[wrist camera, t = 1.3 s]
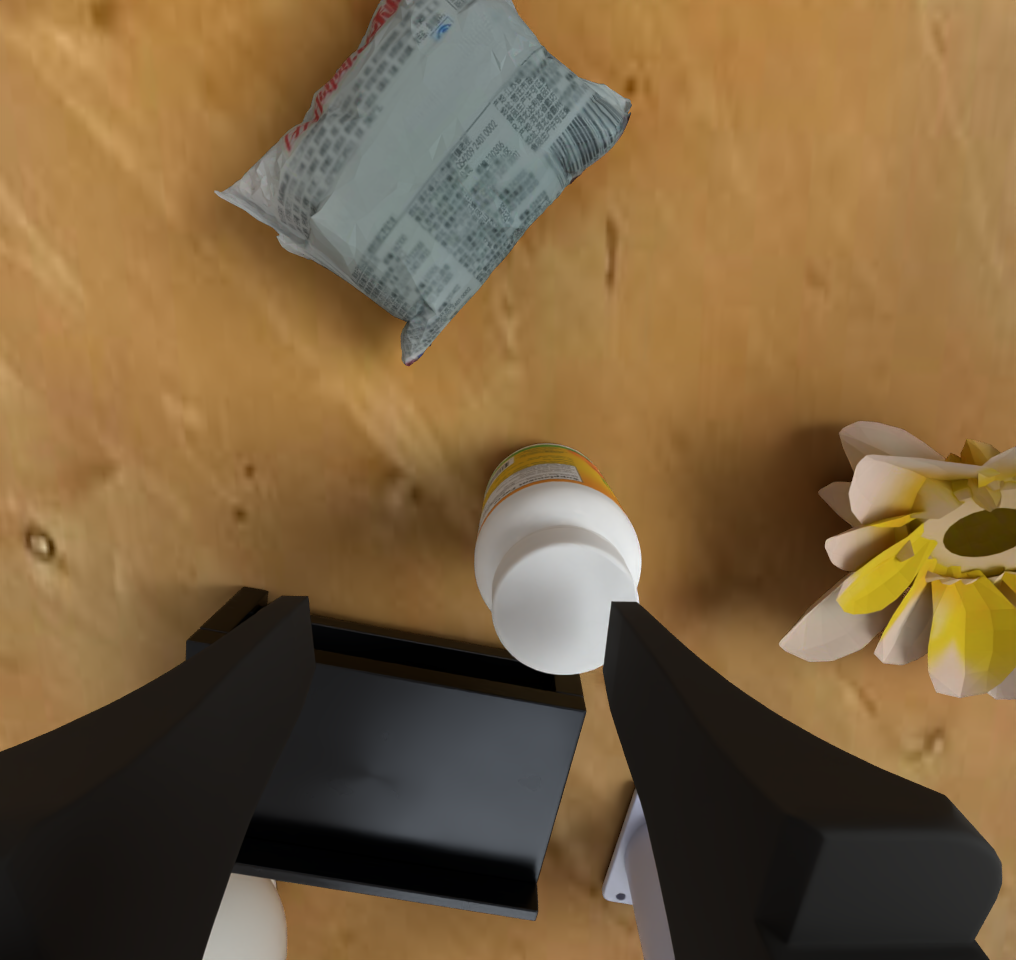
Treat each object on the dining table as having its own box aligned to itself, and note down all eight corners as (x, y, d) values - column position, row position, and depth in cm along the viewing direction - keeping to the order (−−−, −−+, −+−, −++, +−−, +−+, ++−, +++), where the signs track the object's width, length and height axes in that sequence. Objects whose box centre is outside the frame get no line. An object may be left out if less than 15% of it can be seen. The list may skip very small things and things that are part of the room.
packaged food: (252, 207, 20) (173, 170, 15) (460, -71, 18) (443, -217, 13) (422, 367, 22) (398, 379, 17) (633, 133, 19) (674, 71, 15)
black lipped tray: (574, 646, 25) (591, 733, 20) (531, 806, 28) (535, 922, 22) (243, 586, 25) (165, 658, 19) (231, 755, 27) (160, 862, 22)
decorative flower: (687, 605, 22) (890, 739, 13) (794, 364, 22) (1084, 311, 12) (949, 713, 25) (1286, 892, 15) (1046, 498, 25) (1450, 541, 15)
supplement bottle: (611, 546, 24) (675, 685, 14) (495, 563, 24) (483, 710, 15) (598, 431, 22) (659, 503, 13) (475, 450, 23) (447, 534, 13)
